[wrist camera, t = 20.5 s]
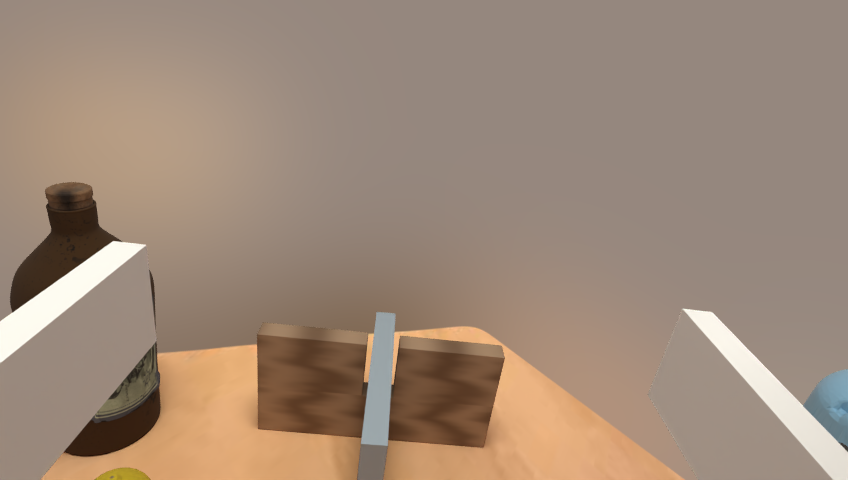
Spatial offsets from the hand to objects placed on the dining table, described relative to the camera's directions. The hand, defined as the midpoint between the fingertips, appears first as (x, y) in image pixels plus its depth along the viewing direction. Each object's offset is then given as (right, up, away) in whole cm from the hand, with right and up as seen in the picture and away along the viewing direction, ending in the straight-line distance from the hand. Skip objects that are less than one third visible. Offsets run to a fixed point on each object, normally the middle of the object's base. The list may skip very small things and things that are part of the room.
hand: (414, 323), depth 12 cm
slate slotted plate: (-5, -20, +38) cm, 43 cm away
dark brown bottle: (-32, -16, +38) cm, 52 cm away
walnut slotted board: (-5, -19, +41) cm, 46 cm away
